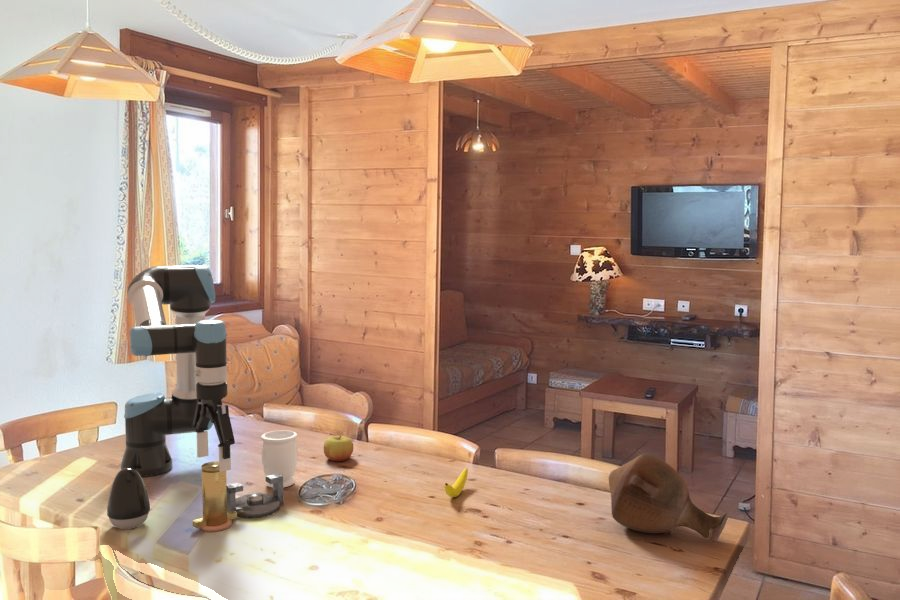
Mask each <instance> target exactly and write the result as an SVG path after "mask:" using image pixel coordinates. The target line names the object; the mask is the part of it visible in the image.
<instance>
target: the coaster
mask: <svg viewBox="0 0 900 600" xmlns="http://www.w3.org/2000/svg"><path fill="white" fill-rule="evenodd" d="M232 520H233V519H231V520H227V523H225V524H223V525H220V526H204V527H200V528H199V529H200V530H201V531H202V532H207V533H213V532H214V533H215V532H222V531H225V530H227V529H229V528H231V526H232V525H233V522H232Z"/></svg>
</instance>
